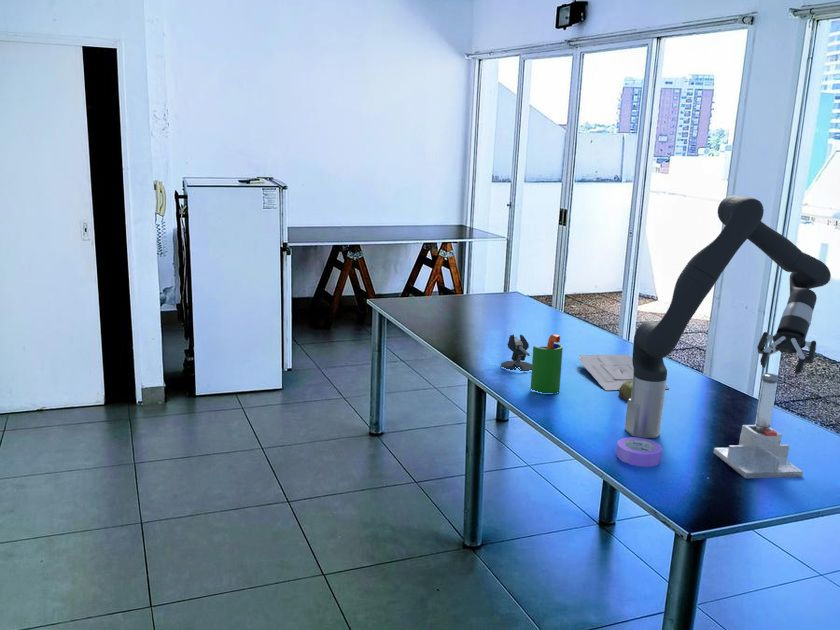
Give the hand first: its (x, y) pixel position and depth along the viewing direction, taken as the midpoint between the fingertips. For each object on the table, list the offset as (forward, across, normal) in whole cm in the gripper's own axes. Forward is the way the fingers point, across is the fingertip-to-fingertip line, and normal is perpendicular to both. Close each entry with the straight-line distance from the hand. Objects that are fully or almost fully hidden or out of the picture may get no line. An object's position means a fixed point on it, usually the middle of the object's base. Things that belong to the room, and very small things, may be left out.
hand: (779, 369), depth 208 cm
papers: (-8, -59, +43) cm, 73 cm away
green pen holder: (+15, -71, +20) cm, 75 cm away
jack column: (+24, 0, +7) cm, 25 cm away
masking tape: (+38, -26, -3) cm, 46 cm away
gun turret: (+5, -89, +29) cm, 94 cm away
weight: (+4, -44, +31) cm, 54 cm away
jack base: (+25, 0, +9) cm, 27 cm away
